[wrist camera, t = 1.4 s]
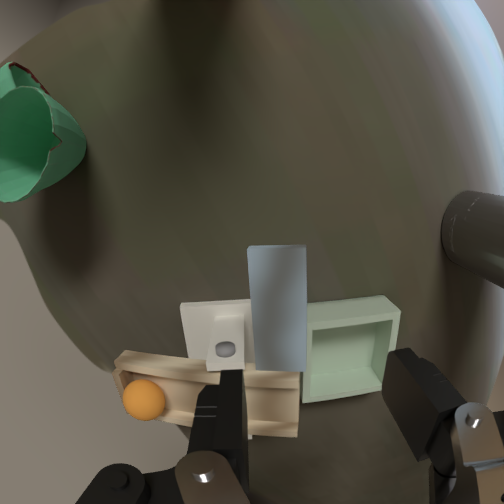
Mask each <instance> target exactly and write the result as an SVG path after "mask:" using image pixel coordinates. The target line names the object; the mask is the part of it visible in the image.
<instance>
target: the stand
mask: <svg viewBox="0 0 504 504" xmlns="http://www.w3.org/2000/svg"><path fill="white" fill-rule="evenodd" d="M180 312H181V318H182V324H183V330H184V335H185V341H186V346H187V352H188V357H189V358H190V359H201V360H206V367H207V371H221V370H231V369H243V370H245V363H255V351H254V338H253V324H252V311H251V299H242V300H226V301H209V302H189V303H181V305H180ZM248 439H252V435H250V434H248Z"/></svg>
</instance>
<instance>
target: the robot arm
mask: <svg viewBox="0 0 504 504" xmlns="http://www.w3.org/2000/svg"><path fill="white" fill-rule="evenodd" d="M442 243H443V247H444V250H445V252H446V254H447V256H448V257H449V259H450V260H451V261H453V262H454V263H456V264H458V265H460V266H462V267H464V268H466V269H467V270H469V271H471V272H473V273H475V274H477V275H479V276H481V277H483V278H484V279H486V280H488V281H490V282H492V283H494V284H496V285H498V286H500V287H501V288H503V289H504V196H500V195H494V194H489V193H482V192H475V191H465V192H462V193H460V194H459V195H457V196H456V197H455V198H454V199H453V200H452V201H451V203H450V204H449V206H448V208H447V210H446V212H445V215H444V219H443V223H442ZM382 396H383V399H384V401H385V403H386V405H387V407H388V408H389V410H390V412H391V414H392V415H393V417H394V419H395V421H396V423H397V424H398V426H399V428H400V430H401V432H402V434H403V435H404V437H405V439H406V441H407V443H408V445H409V446H410V448H411V450H412V452H413V454H414V456H415V458H416V459H417V461H418V462H419V461H422V460H425V459H427V458H430V459H431V461H432V463H431V465H430V467H429V504H504V411H498V412H492V411H491V410H490V409H489V408H488V407H486V406H485V405H483V404H480V403H467V402H466V401H465V399H464V398H463V397H462V396H461V395H460V394H459V392H458V391H457V390H456V389H455V388H454V387H453V385H452V384H451V383H450V382H449V381H447V379H446V377H445V376H444V375H443V374H441V372H440V371H439V370H438V368H437V367H436V366H435V365H434V364H433V363H431V362H429V361H427V360H426V359H424V358H420V359H419V358H418V356H417V355H416V354H415V353H414V352H413V351H412V350H411V349H410V348H404V349H399V350H394V351H390V352H389V353H388V355H387V360H386V365H385V371H384V376H383V381H382ZM245 493H249V465H248V416H247V402H246V393H245V383H244V374H243V369H231V370H221V373H220V382H219V385H206V386H205V387H204V388H203V389H202V390H201V392H200V393H199V394H198V397H197V403H196V408H195V413H194V418H193V424H192V429H191V435H190V440H189V446H188V451H187V454H186V455H185V456H184V457H182V459H180V460H179V462H178V463H177V465H176V466H175V467H173V468H170V469H168V470H164V471H158V472H153V473H145V474H142V473H141V472H140V471H139V470H138V469H137V468H135V467H134V466H131V465H128V464H122V463H121V464H112V465H109V466H107V467H105V468H103V469H102V470H100V471H99V472H98V474H97V475H96V476H95V478H94V479H93V480H92V482H91V483H90V485H89V486H88V487H87V489H86V490H85V491H84V492H83V494H82V495H81V497H80V498H79V499H78V501H77V502H76V503H75V504H250V502H249V500H248V498H247V497H246V495H245Z"/></svg>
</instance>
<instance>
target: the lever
mask: <svg viewBox="0 0 504 504" xmlns="http://www.w3.org/2000/svg"><path fill="white" fill-rule="evenodd" d="M247 256H248V270H249V284H250V297H251V311H252V324H253V338H254V351H255V363H245V370H243V374H244V383H245V393H246V402H247V416H248V434H250V435H263V436H279V437H297V434H298V425H299V402H300V372H306V359H307V256H306V245H268V246H249V247H248V249H247ZM114 363H115V366H116V369H115V370H114V371H113V372H112V375H113V378H114V381H115V383H116V386H117V389H118V392H119V395H120V397H121V399H122V402H123V392H124V390H125V388H126V387H127V385H128V384H130V383H131V382H133V381H135V380H139V379H145V380H150V381H152V382H154V383H155V384H157V385H158V386H159V387H160V388H161V390H162V391H163V393H164V396H165V407H164V410H163V412H162V413H161V414H160V415H159V416H158V417H157V418H155V419H154V420H158V421H163V422H168V423H173V424H178V425H184V426H189V427H192V424H193V418H194V413H195V408H196V403H197V397H198V394H199V393H200V392H201V390H202V389H203V388H204V387H205V386H206V385H219V382H220V373H221V371H207V367H206V360H201V359H190V358H181V357H172V356H164V355H157V354H149V353H142V352H135V351H129V350H125V351H124V352H123V353H122V354H121V355H120V356H119V357H118V358H117V359H116V360H115V361H114ZM123 405H124V404H123ZM124 408H125V407H124ZM125 410H126V409H125ZM126 413H127V414H129V413H128V412H127V410H126Z"/></svg>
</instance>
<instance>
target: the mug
mask: <svg viewBox="0 0 504 504" xmlns="http://www.w3.org/2000/svg"><path fill="white" fill-rule="evenodd" d="M85 151H86V138H85V135H84V133H83V132H82V130H81V128H80V127H79V125H78V123H77V122H76V120H75V119H74V118H73V117H72V116H71V114H70V113H69V112H68V111H67V110H66V109H65V108H64V107H63V106H62V105H60V104H59V103H58V102H56V101H55V100H54V99H53V98H51V96H50V94H49V93H48V92H47V90H46V89H45V88H44V87H43V86H42V85H41V83H40V82H39V81H38V80H37V79H36V77H35V76H34V75H33V74H32V73H31V71H30V70H29V69H27V68H25V67H23V66H21V65H19V64H17V63H16V62H9V63H6V64H5V65H4V66H3V67H2V68H1V69H0V201H1V202H4V203H10V202H18V201H22V200H25V199H27V198H28V197H30V196H32V195H33V194H35V193H37V192H39V191H40V190H42V189H44V188H47V187H49V186H51V185H53V184H54V183H56V182H58V181H60V180H61V179H62V178H64V177H65V176H67V175H68V174H69V173H70V172H71V171H72V170H73V169H74V168H75V167H76V166H77V165H78V164H79V163H80V162H81V161H82V159H83V157H84V155H85Z"/></svg>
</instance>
